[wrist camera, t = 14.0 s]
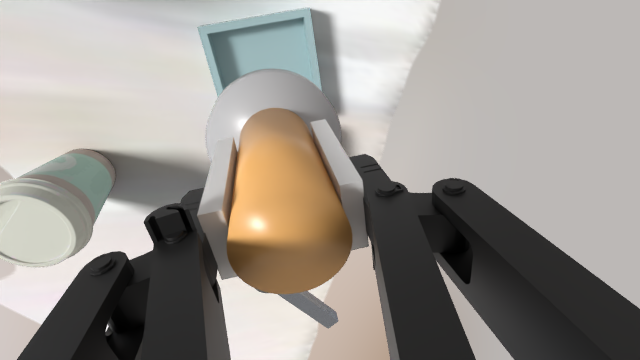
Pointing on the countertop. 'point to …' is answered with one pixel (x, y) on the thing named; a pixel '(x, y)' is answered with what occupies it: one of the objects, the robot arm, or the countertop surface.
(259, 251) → the tamper
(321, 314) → the grey lever handle
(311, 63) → the tray
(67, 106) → the countertop surface
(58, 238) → the coffee cup
